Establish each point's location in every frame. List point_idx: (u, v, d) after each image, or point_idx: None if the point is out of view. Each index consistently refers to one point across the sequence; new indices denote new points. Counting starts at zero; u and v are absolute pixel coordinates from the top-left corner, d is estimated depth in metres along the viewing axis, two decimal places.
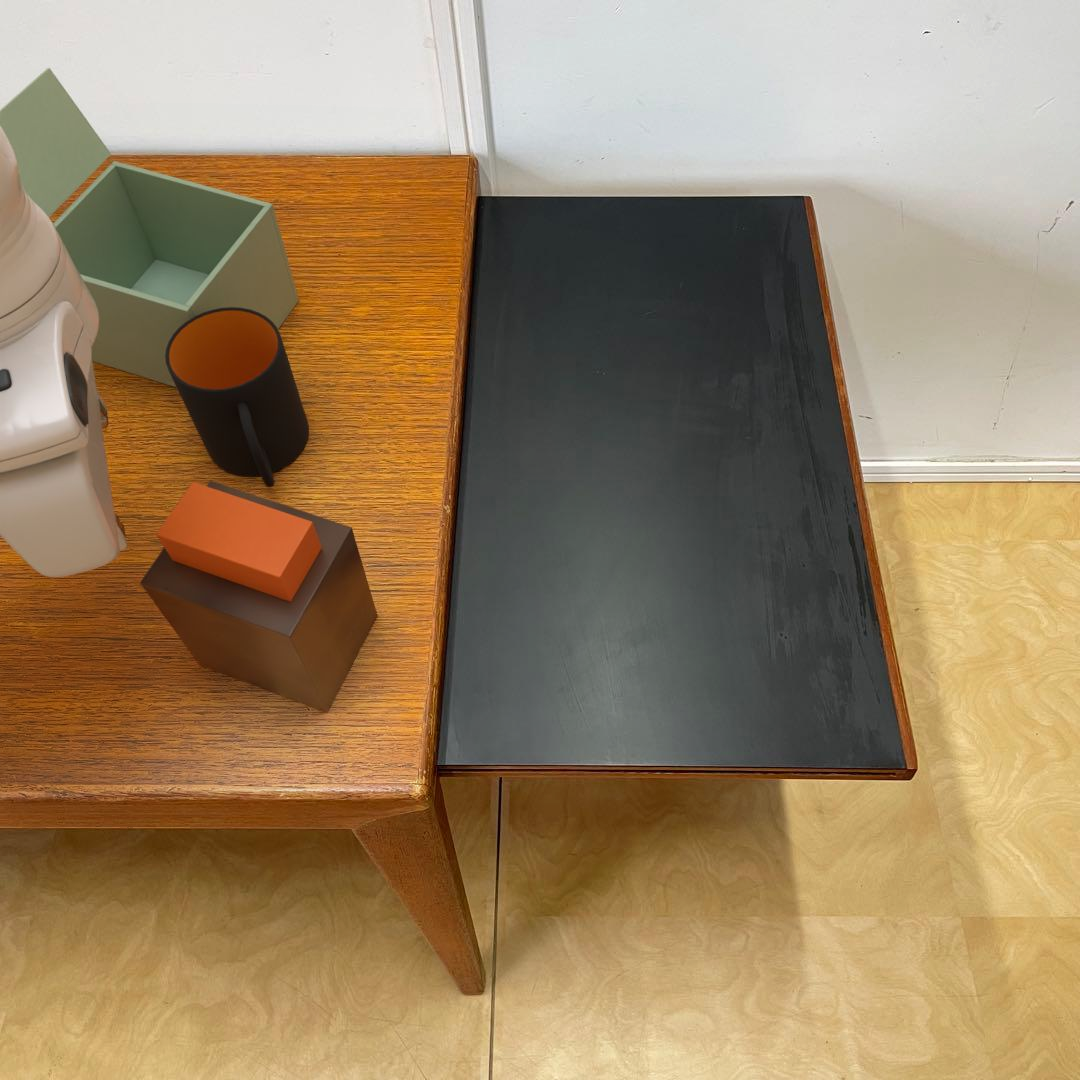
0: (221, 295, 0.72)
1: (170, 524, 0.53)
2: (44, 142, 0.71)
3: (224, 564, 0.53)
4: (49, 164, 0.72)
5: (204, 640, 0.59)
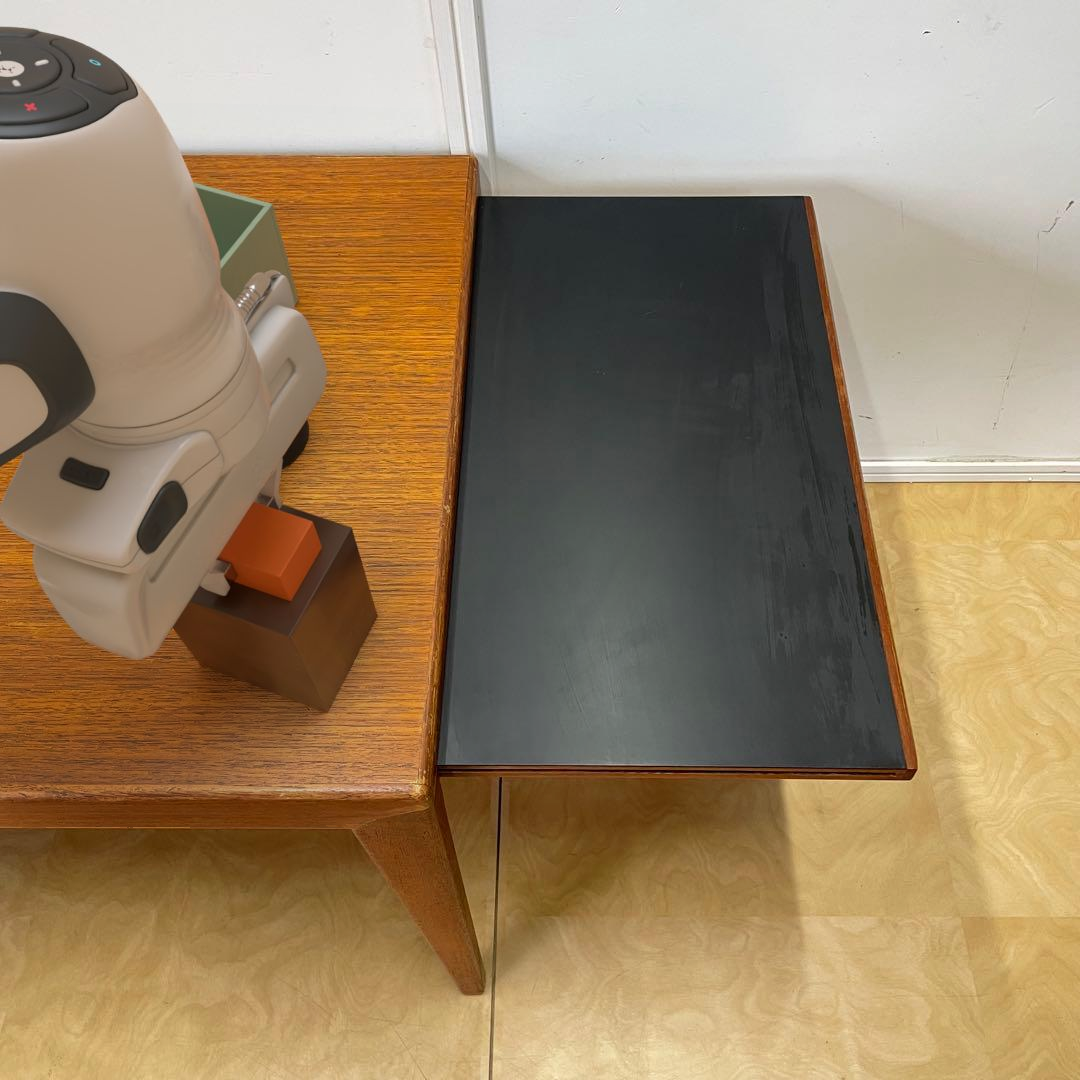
0: None
1: None
2: None
3: None
4: None
5: (204, 640, 0.59)
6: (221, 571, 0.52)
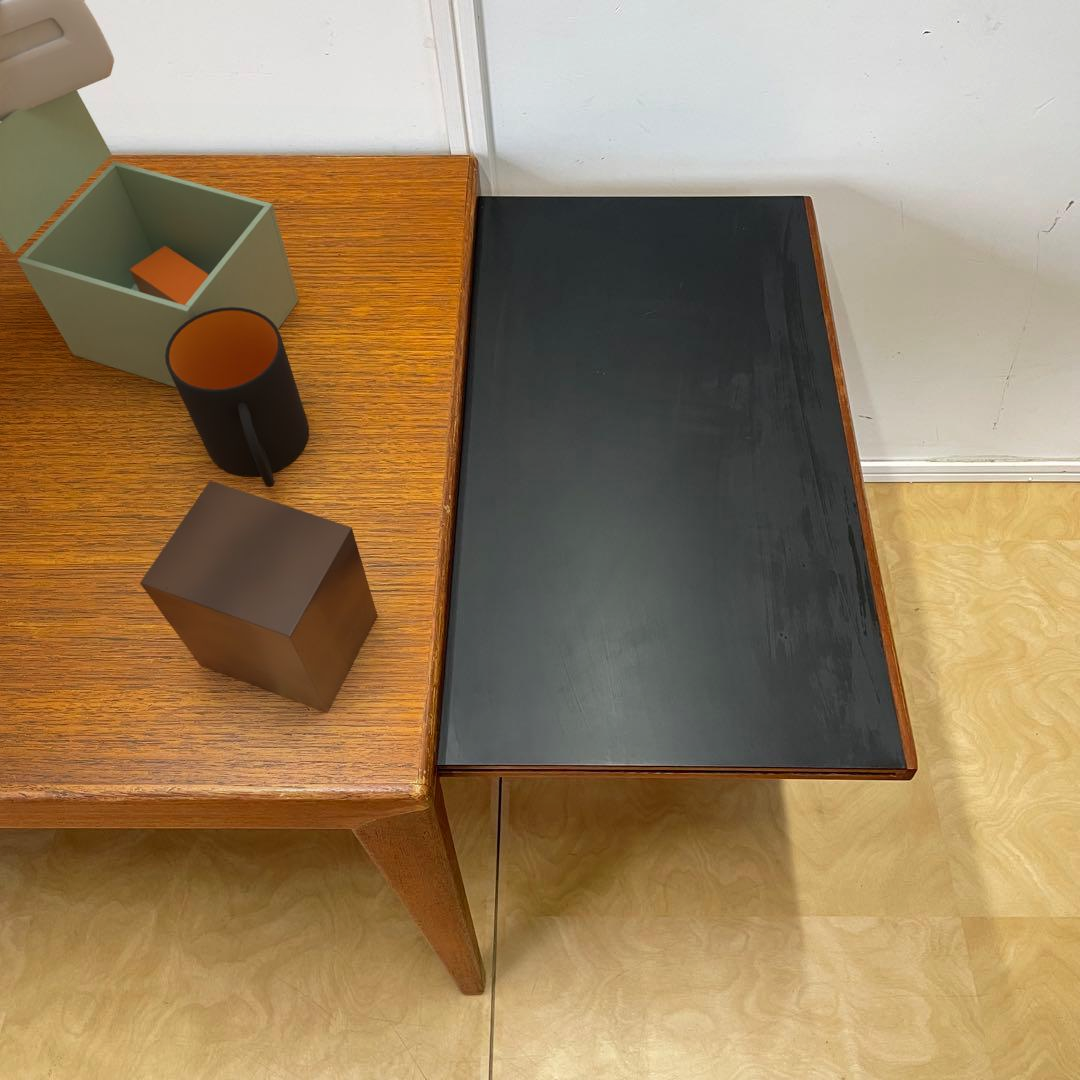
0: (221, 295, 0.72)
1: None
2: (52, 143, 0.71)
3: None
4: (55, 165, 0.72)
5: (204, 640, 0.59)
6: None
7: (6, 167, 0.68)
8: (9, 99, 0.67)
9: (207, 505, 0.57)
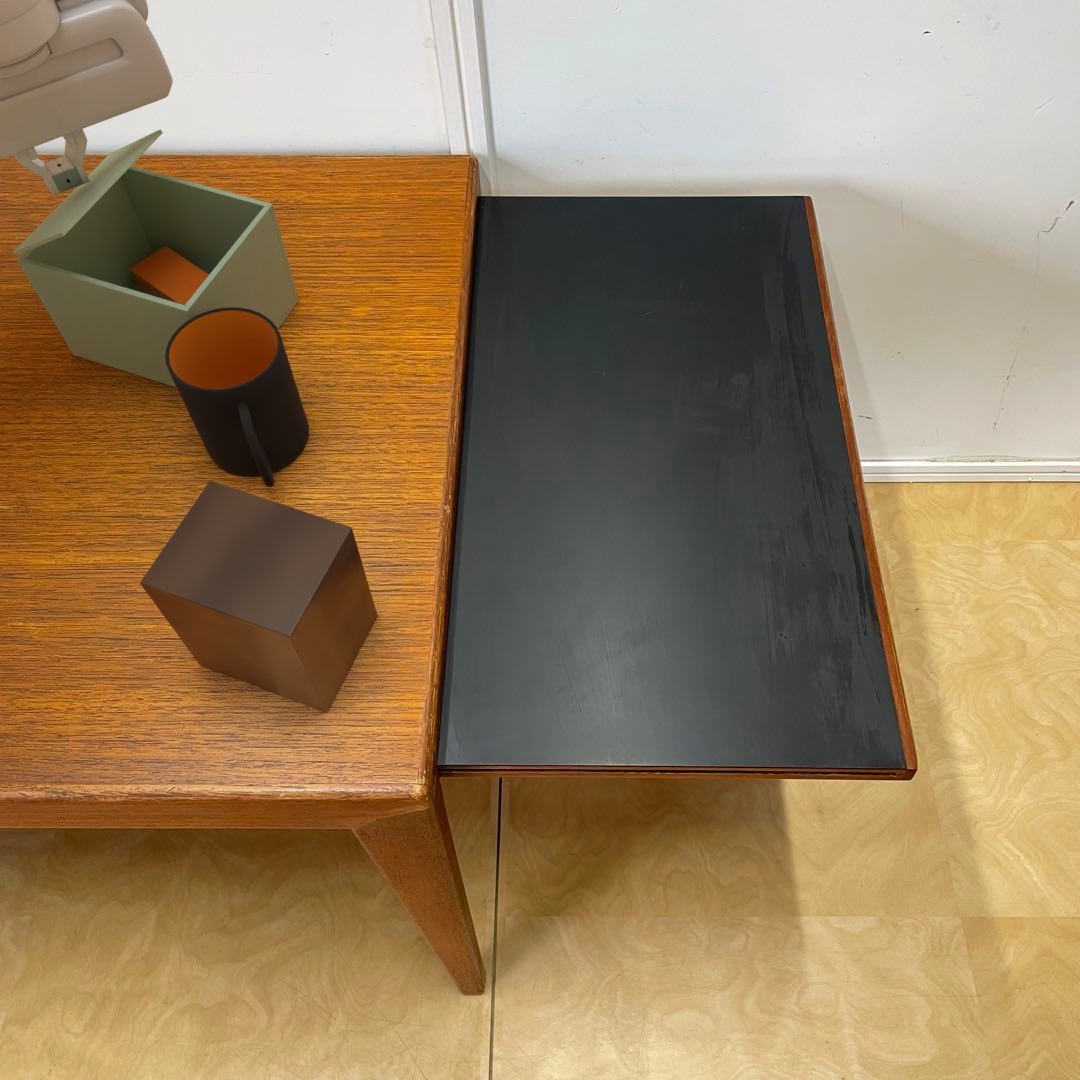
0: (221, 295, 0.72)
1: None
2: None
3: None
4: None
5: (204, 640, 0.59)
6: (52, 172, 0.69)
7: None
8: (65, 117, 0.66)
9: (207, 505, 0.57)
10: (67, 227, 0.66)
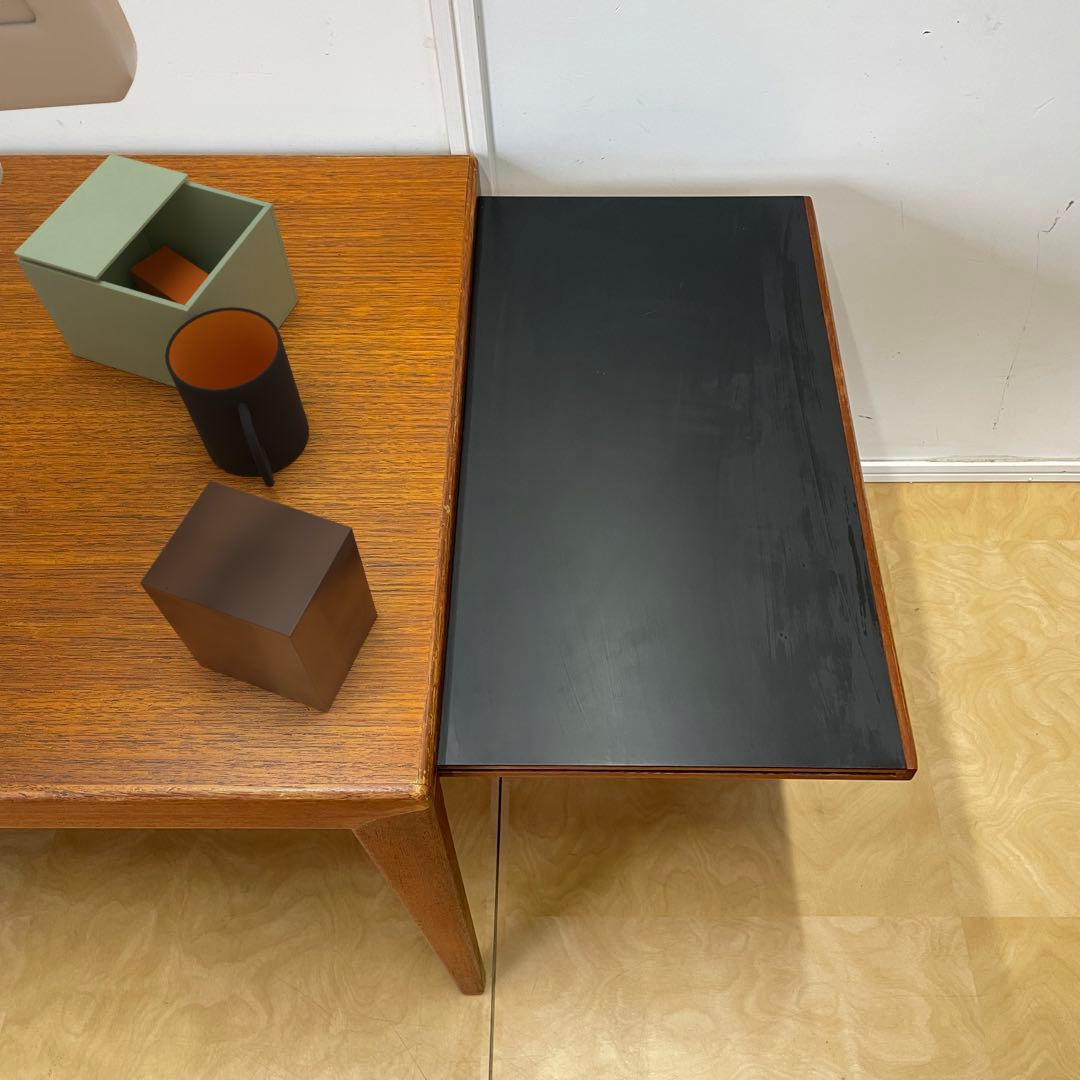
0: (221, 295, 0.72)
1: None
2: None
3: None
4: None
5: (204, 640, 0.59)
6: None
7: None
8: None
9: (207, 505, 0.57)
10: (101, 271, 0.69)
